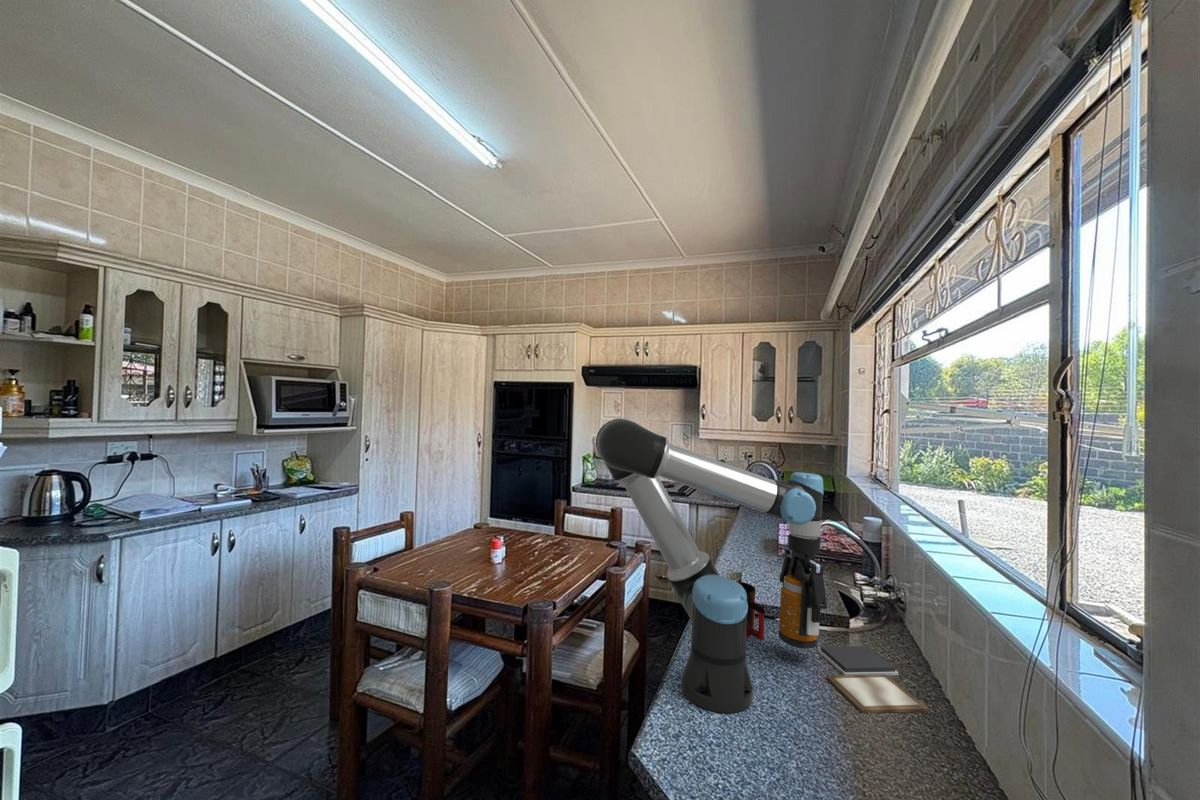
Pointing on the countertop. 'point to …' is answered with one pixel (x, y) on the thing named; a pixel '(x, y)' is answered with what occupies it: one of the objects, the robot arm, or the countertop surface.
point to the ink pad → (857, 660)
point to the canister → (795, 613)
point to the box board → (876, 694)
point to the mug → (753, 613)
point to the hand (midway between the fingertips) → (799, 623)
